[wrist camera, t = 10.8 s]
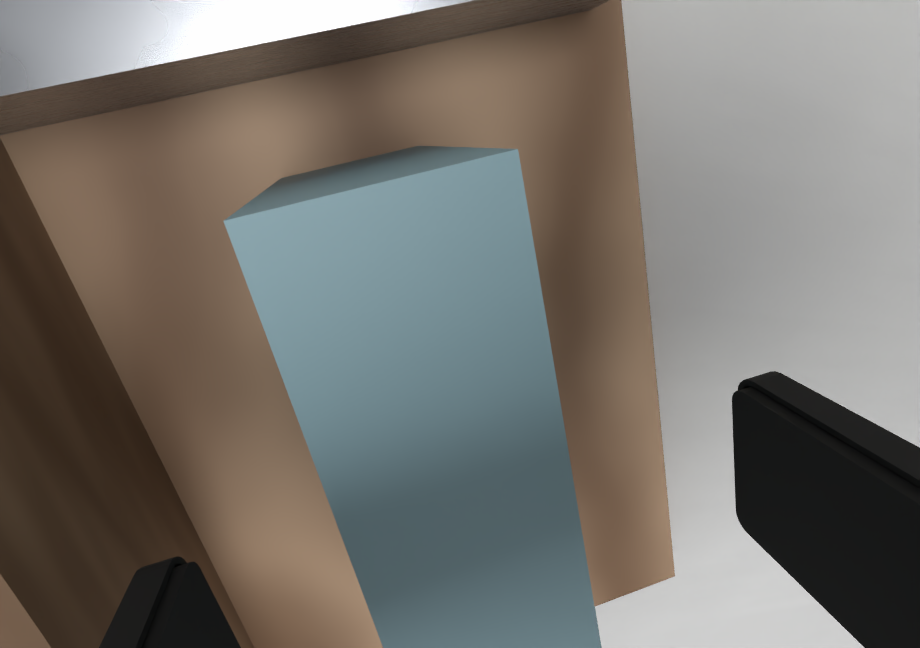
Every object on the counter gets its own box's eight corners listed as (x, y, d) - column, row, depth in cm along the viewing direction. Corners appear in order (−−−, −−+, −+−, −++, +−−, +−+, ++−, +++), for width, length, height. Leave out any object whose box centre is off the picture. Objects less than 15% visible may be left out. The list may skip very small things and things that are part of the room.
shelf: (592, -40, 17) (827, -203, 9) (655, 552, 25) (803, 737, 17) (-39, 85, 14) (-498, 13, 6) (269, 695, 23) (238, 987, 15)
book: (418, 145, 16) (517, 149, 7) (495, 478, 20) (613, 717, 12) (281, 178, 15) (223, 220, 7) (390, 513, 19) (436, 790, 11)
